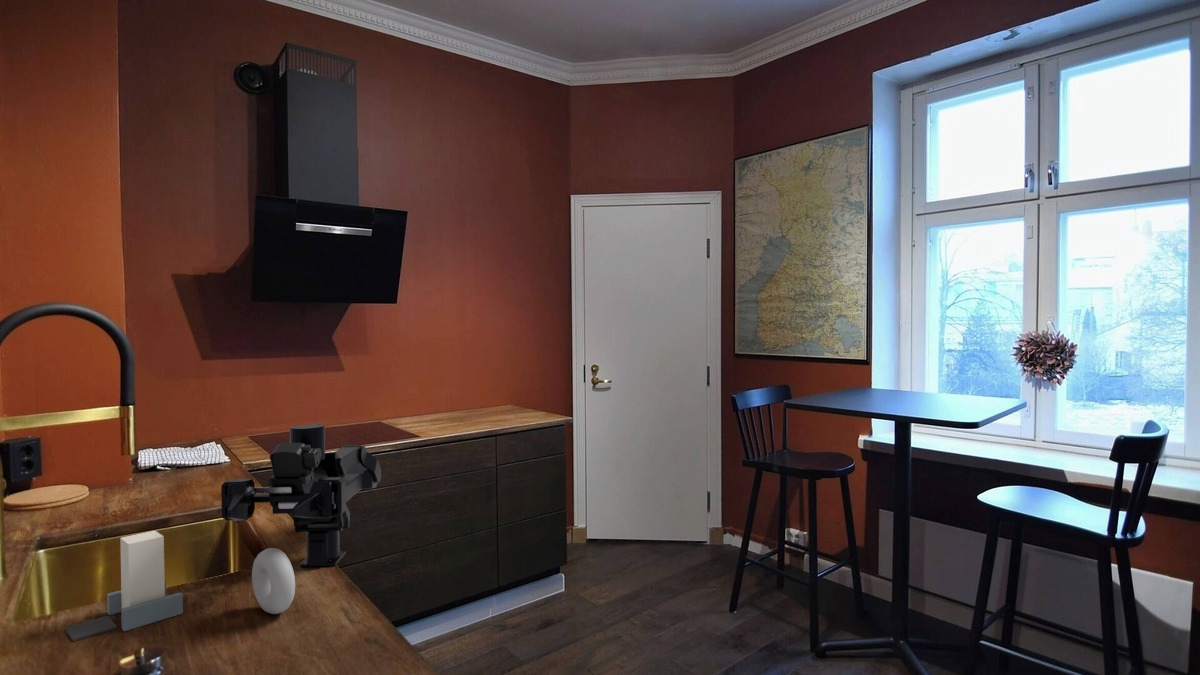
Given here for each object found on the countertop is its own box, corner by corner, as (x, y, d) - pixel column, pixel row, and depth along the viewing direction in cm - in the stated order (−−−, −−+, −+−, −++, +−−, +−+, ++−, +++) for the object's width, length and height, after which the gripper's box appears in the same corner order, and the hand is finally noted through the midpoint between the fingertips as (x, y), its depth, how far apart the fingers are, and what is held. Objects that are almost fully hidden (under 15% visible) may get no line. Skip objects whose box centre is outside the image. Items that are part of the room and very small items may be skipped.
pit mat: (107, 617, 96) (107, 615, 96) (116, 628, 92) (116, 626, 92) (65, 629, 92) (65, 627, 92) (73, 641, 89) (73, 639, 89)
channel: (163, 596, 103) (163, 578, 103) (182, 613, 97) (182, 594, 97) (107, 612, 98) (107, 593, 97) (123, 631, 91) (123, 611, 91)
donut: (248, 607, 99) (247, 544, 99) (270, 600, 102) (269, 539, 102) (277, 625, 93) (276, 559, 93) (300, 617, 96) (299, 552, 95)
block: (156, 604, 100) (154, 530, 100) (165, 612, 97) (163, 536, 97) (121, 614, 97) (120, 537, 97) (129, 623, 94) (128, 544, 94)
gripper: (245, 441, 108) (194, 461, 93) (356, 439, 110) (324, 458, 94) (246, 505, 108) (195, 535, 93) (357, 503, 110) (325, 532, 94)
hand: (261, 513), depth 93 cm, fingers open, 9 cm apart
